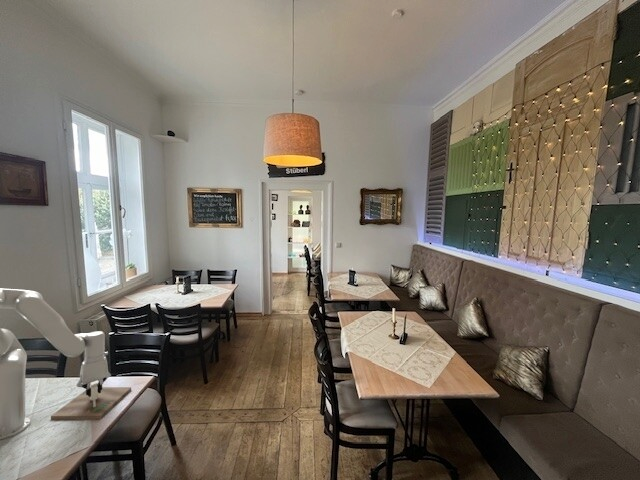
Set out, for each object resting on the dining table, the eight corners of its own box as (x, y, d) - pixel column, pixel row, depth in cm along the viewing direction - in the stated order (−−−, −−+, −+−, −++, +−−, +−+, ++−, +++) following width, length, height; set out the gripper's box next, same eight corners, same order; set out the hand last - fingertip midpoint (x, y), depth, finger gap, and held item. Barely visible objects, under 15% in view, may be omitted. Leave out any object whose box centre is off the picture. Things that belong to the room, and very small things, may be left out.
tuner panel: (100, 419, 121) (100, 415, 121) (50, 419, 120) (50, 415, 120) (131, 390, 143) (131, 387, 143) (89, 389, 142) (89, 386, 142)
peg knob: (89, 396, 133) (89, 383, 133) (98, 394, 136) (98, 380, 135) (90, 408, 125) (90, 394, 125) (99, 406, 127) (99, 391, 127)
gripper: (112, 349, 141) (111, 383, 141) (70, 361, 127) (69, 398, 128) (117, 354, 136) (116, 389, 137) (74, 366, 123) (73, 405, 124)
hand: (94, 393), depth 132 cm, fingers closed on peg knob, 3 cm apart
